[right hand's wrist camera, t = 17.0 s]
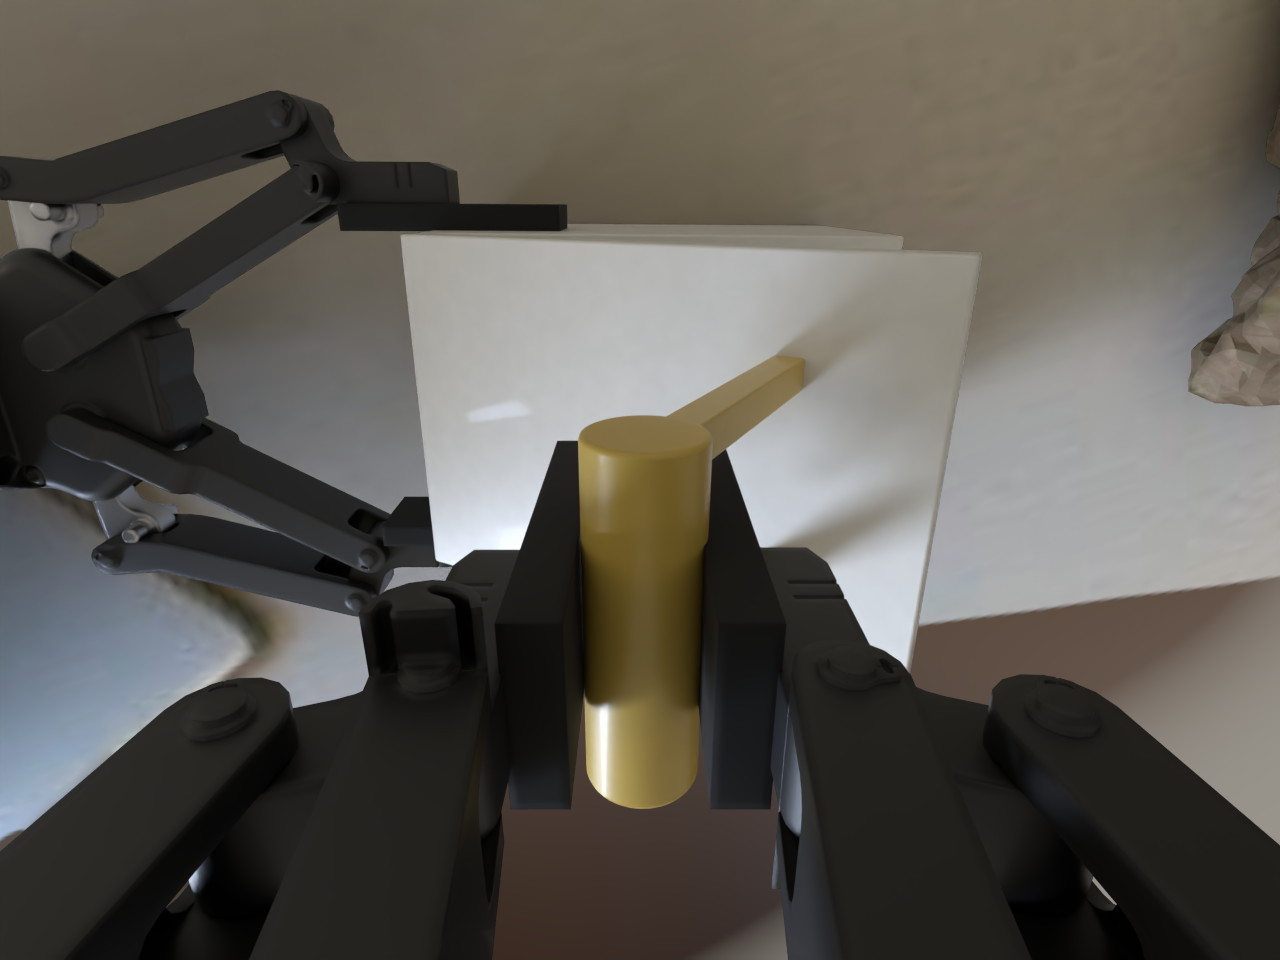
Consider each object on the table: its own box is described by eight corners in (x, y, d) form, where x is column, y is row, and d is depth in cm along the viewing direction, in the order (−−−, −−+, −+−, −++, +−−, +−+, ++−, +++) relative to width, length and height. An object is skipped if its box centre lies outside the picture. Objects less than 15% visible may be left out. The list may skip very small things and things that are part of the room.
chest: (822, 225, 28) (904, 235, 20) (801, 456, 32) (862, 550, 23) (482, 223, 28) (415, 232, 20) (498, 454, 32) (447, 549, 23)
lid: (983, 251, 13) (921, 301, 7) (908, 679, 17) (817, 1001, 10) (422, 232, 20) (86, 248, 13) (453, 550, 23) (204, 696, 16)
